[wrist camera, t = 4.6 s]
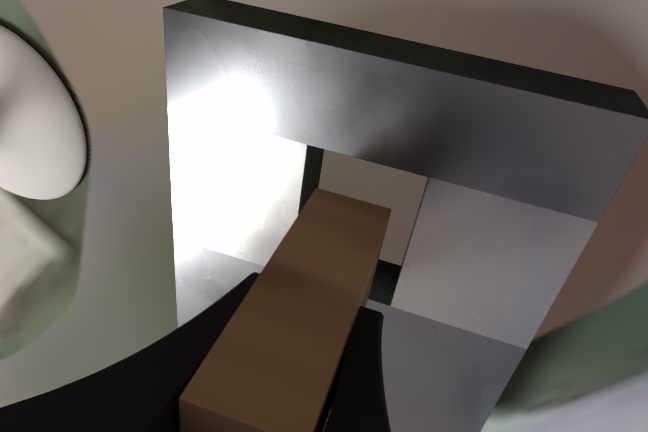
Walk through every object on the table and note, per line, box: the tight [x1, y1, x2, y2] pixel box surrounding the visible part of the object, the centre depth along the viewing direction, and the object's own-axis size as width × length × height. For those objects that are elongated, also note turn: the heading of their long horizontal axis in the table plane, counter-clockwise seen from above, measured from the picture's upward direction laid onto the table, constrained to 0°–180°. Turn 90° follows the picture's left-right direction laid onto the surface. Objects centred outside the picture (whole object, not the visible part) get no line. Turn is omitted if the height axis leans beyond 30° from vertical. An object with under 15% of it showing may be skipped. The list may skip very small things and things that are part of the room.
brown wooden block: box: [179, 188, 391, 432], centre depth 13 cm, size 4×2×8 cm, turn 172°
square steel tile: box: [163, 0, 648, 432], centre depth 19 cm, size 16×14×2 cm
